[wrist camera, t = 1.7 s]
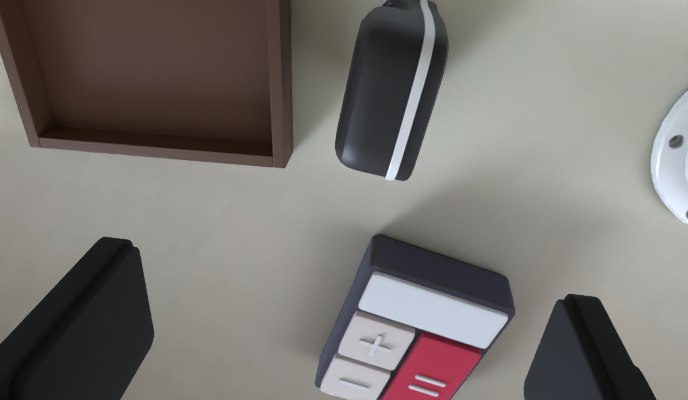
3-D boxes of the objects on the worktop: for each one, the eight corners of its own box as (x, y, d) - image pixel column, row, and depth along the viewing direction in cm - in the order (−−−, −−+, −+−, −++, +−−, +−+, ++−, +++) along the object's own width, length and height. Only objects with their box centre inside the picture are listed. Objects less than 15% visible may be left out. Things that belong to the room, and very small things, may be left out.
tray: (289, -52, 27) (278, -50, 25) (293, 152, 34) (285, 168, 31) (-3, -66, 29) (-38, -64, 26) (54, 132, 35) (30, 147, 33)
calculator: (311, 394, 41) (369, 270, 32) (319, 353, 44) (374, 232, 36) (433, 432, 41) (520, 320, 33) (432, 388, 45) (510, 277, 37)
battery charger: (374, -18, 28) (355, 17, 18) (439, -3, 28) (456, 41, 18) (349, 97, 31) (322, 180, 21) (406, 111, 31) (405, 200, 21)
